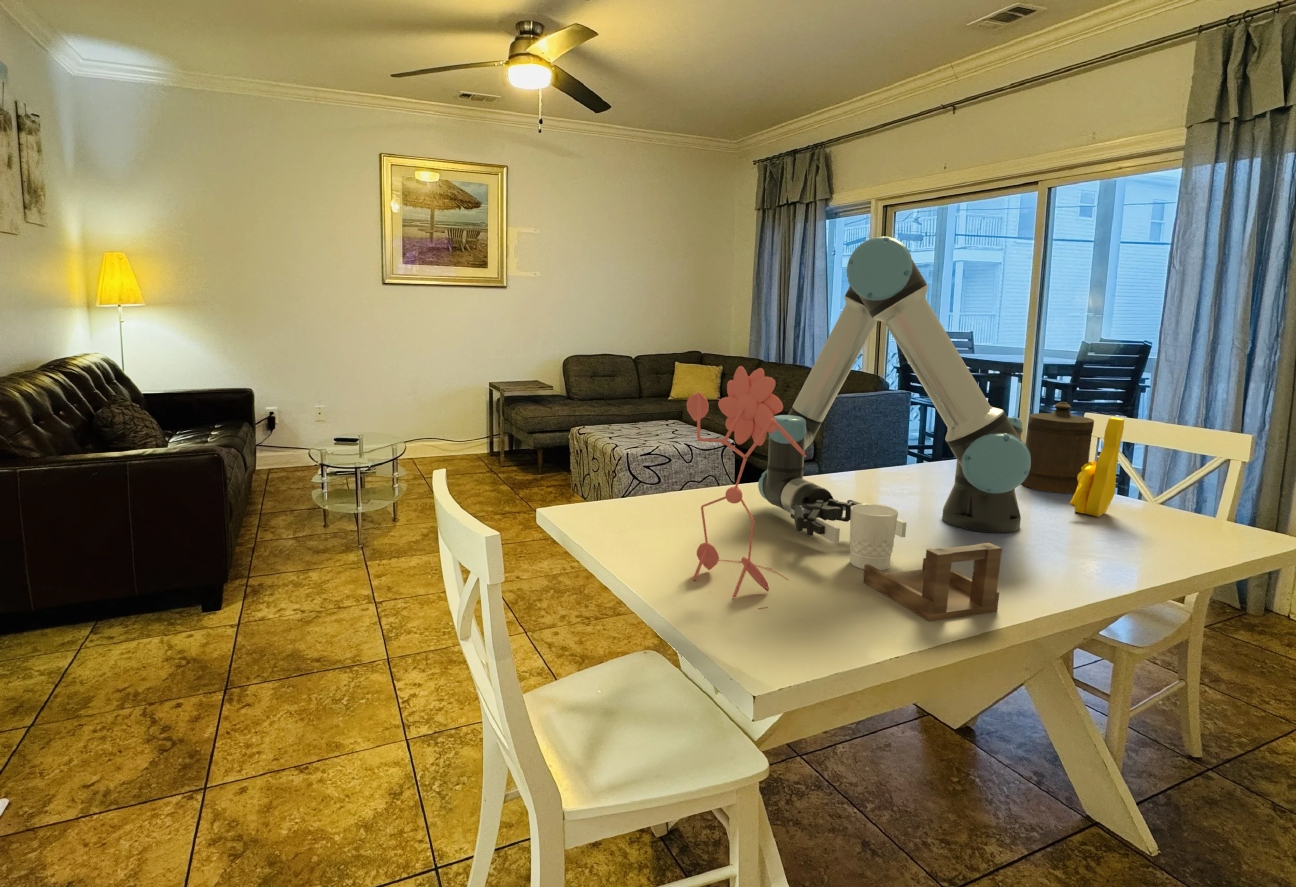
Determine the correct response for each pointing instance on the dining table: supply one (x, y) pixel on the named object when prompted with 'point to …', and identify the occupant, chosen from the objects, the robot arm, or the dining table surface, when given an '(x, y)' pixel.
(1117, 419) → the figure statuette
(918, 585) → the brown wooden stand
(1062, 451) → the wooden container
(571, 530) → the dining table surface
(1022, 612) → the dining table surface
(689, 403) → the figurine
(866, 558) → the white cup
